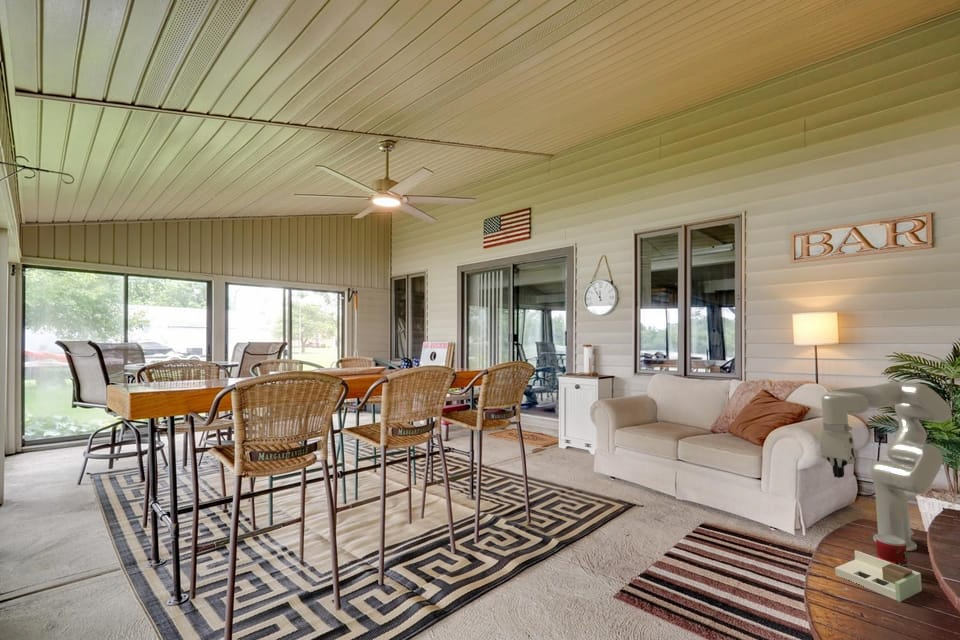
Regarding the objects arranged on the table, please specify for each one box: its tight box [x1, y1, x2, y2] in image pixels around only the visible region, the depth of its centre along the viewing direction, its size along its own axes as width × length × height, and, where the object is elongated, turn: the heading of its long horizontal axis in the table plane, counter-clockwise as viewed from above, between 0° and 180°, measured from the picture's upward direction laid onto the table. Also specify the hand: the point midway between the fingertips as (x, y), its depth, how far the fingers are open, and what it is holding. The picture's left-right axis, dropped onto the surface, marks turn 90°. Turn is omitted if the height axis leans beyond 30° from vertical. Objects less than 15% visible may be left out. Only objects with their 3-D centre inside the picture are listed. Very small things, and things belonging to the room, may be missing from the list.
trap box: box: [834, 550, 923, 603], centre depth 154 cm, size 13×18×6 cm
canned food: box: [875, 534, 909, 569], centre depth 161 cm, size 8×8×11 cm
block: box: [882, 563, 912, 584], centre depth 149 cm, size 6×6×4 cm
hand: (838, 476), depth 173 cm, fingers closed
